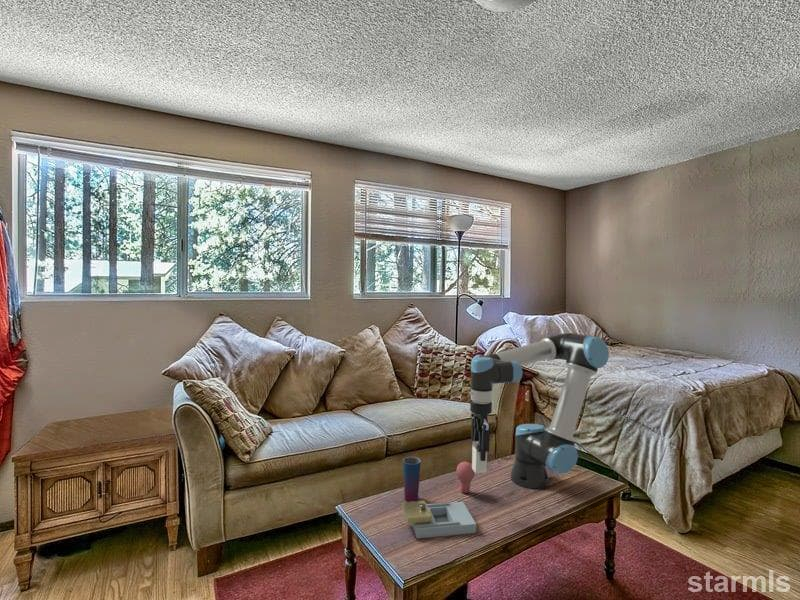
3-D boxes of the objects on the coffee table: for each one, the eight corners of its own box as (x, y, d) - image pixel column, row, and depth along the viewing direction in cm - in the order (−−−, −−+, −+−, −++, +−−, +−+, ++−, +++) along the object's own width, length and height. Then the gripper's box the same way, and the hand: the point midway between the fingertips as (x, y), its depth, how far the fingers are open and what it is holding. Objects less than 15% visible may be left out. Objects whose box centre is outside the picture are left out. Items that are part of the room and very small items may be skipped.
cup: (406, 505, 153) (407, 465, 152) (399, 496, 159) (399, 458, 158) (423, 501, 155) (423, 462, 155) (415, 493, 162) (415, 455, 161)
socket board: (462, 509, 150) (462, 500, 150) (476, 532, 136) (476, 522, 136) (408, 514, 147) (408, 504, 147) (416, 538, 133) (416, 527, 133)
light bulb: (474, 498, 159) (474, 467, 158) (455, 495, 160) (455, 465, 160) (474, 489, 166) (475, 459, 165) (456, 487, 167) (457, 457, 166)
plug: (482, 467, 150) (483, 440, 150) (486, 472, 146) (487, 444, 146) (471, 468, 149) (472, 440, 149) (475, 473, 146) (476, 444, 145)
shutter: (424, 507, 146) (424, 497, 145) (431, 523, 136) (431, 512, 136) (402, 509, 144) (402, 498, 144) (407, 525, 134) (407, 514, 134)
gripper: (463, 395, 155) (461, 456, 156) (479, 408, 138) (477, 477, 139) (482, 394, 156) (480, 455, 157) (500, 407, 139) (498, 476, 140)
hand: (479, 465), depth 148 cm, fingers closed on plug, 4 cm apart
